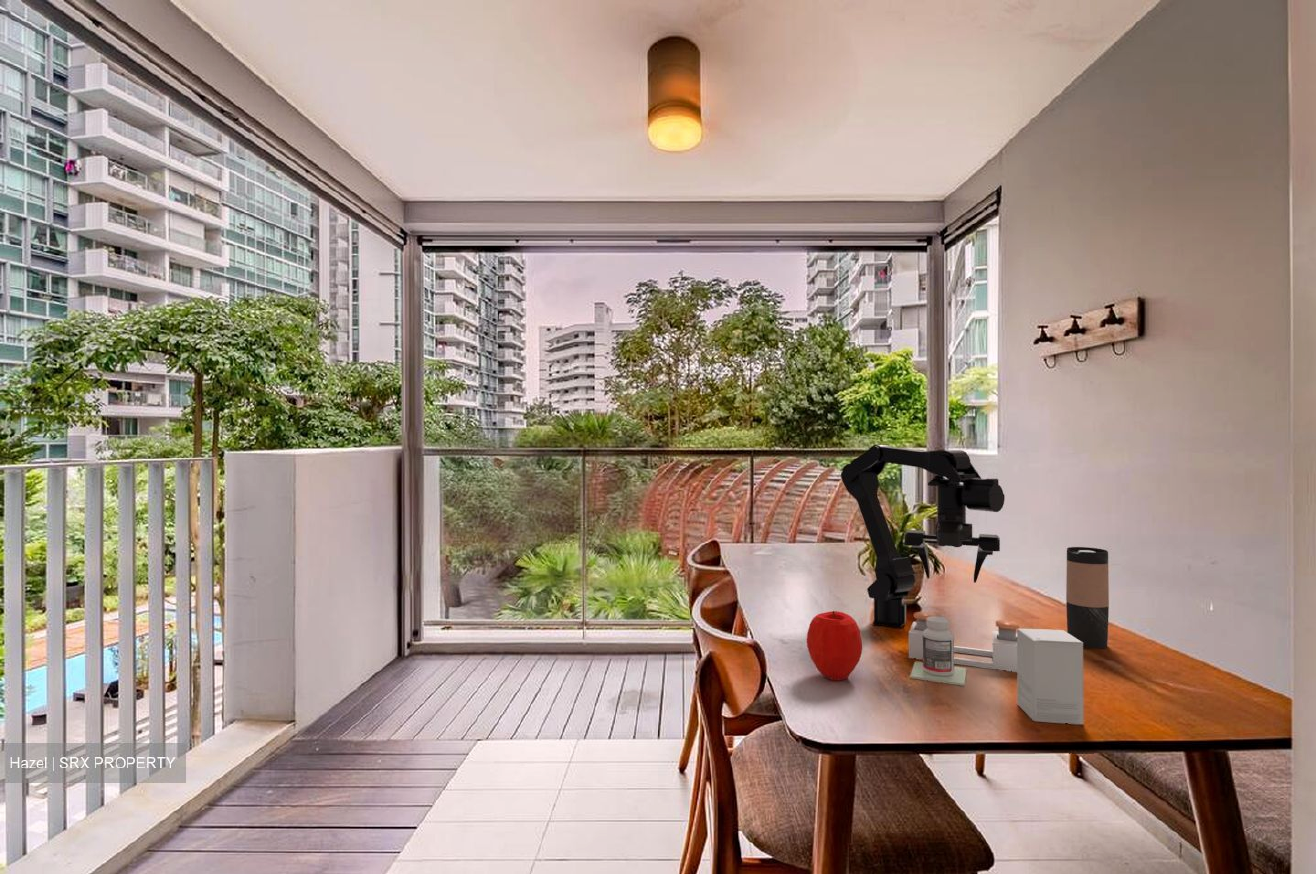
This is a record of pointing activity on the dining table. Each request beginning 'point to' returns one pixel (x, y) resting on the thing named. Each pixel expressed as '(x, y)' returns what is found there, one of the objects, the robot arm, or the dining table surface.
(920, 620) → the plunger left
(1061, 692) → the supplement box
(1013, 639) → the plunger right
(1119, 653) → the dining table surface
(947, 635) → the pill bottle
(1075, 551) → the travel mug
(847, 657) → the apple
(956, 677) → the mat
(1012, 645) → the holder
